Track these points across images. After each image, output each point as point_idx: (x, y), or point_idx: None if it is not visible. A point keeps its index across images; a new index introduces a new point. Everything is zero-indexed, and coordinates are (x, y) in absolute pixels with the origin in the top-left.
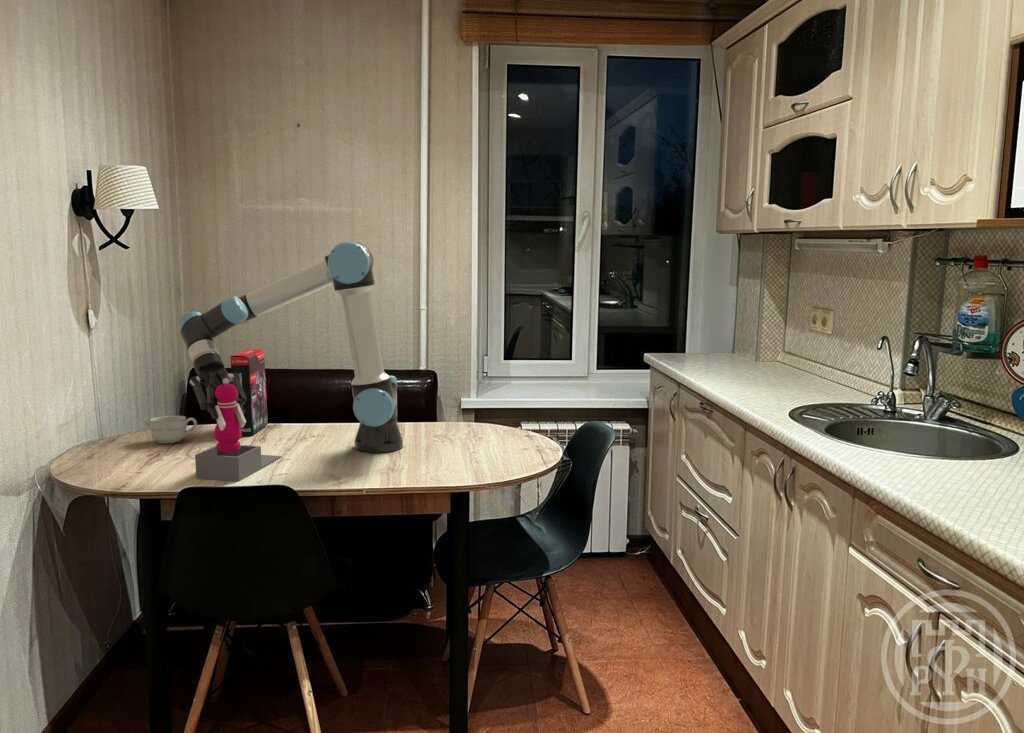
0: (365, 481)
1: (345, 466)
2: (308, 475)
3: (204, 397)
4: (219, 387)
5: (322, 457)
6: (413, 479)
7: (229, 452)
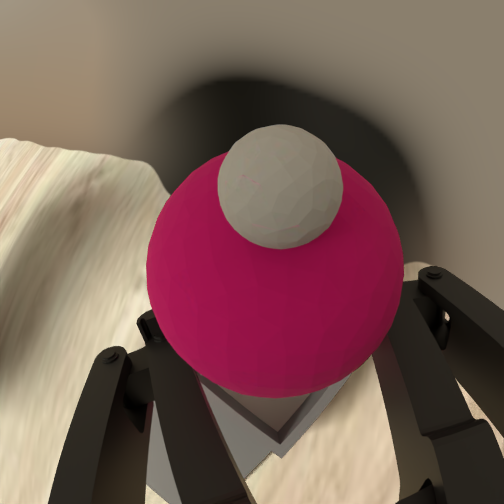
0: (61, 173)
1: (29, 279)
2: (106, 246)
3: (459, 301)
4: (368, 185)
5: (32, 379)
6: (20, 165)
7: (253, 420)
